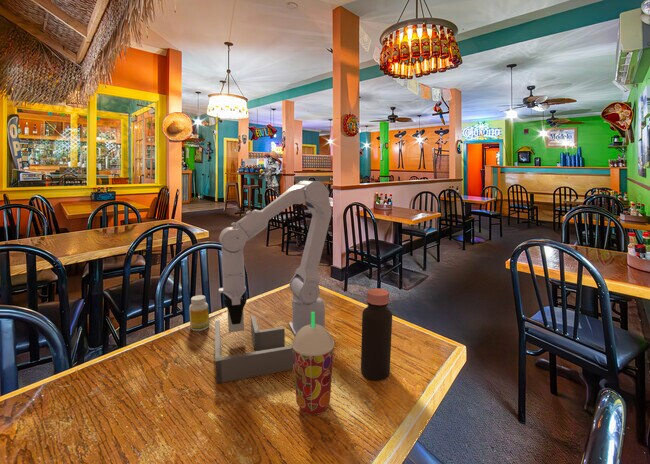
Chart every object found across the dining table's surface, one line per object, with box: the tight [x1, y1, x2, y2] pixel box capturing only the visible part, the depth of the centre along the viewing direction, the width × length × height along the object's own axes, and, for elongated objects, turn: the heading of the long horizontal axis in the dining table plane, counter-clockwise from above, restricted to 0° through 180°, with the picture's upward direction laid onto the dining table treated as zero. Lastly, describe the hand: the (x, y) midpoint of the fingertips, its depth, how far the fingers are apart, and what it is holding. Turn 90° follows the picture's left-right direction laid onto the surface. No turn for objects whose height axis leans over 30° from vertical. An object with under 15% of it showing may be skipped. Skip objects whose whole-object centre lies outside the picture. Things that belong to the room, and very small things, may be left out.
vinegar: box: [360, 287, 393, 382], centre depth 75 cm, size 7×7×20 cm
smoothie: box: [291, 312, 335, 416], centre depth 65 cm, size 8×8×20 cm
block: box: [226, 297, 245, 334], centre depth 90 cm, size 4×4×8 cm
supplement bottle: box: [188, 294, 210, 332], centre depth 98 cm, size 5×5×10 cm
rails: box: [214, 315, 294, 384], centre depth 85 cm, size 18×21×6 cm
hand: (235, 319), depth 90 cm, fingers closed on block, 4 cm apart
